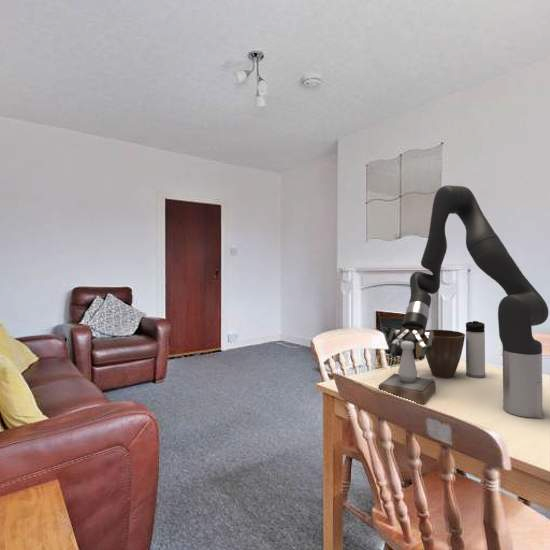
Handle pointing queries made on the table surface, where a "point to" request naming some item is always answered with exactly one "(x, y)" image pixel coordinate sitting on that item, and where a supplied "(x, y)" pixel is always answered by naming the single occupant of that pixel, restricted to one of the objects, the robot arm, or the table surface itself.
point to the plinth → (409, 388)
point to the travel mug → (475, 349)
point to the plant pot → (444, 352)
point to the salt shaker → (407, 363)
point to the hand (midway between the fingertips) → (406, 357)
